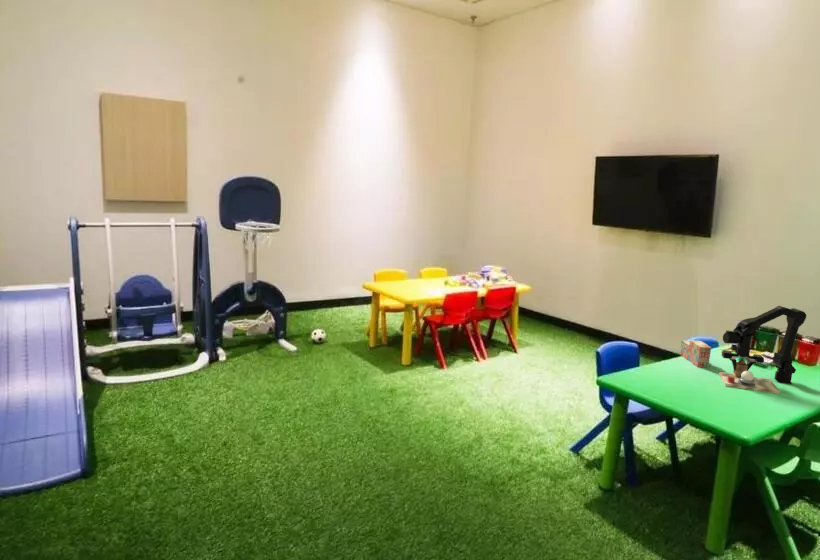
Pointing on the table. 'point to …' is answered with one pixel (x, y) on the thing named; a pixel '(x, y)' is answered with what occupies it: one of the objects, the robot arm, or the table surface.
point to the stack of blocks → (696, 352)
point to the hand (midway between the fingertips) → (740, 371)
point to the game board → (758, 385)
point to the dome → (747, 377)
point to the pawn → (740, 367)
